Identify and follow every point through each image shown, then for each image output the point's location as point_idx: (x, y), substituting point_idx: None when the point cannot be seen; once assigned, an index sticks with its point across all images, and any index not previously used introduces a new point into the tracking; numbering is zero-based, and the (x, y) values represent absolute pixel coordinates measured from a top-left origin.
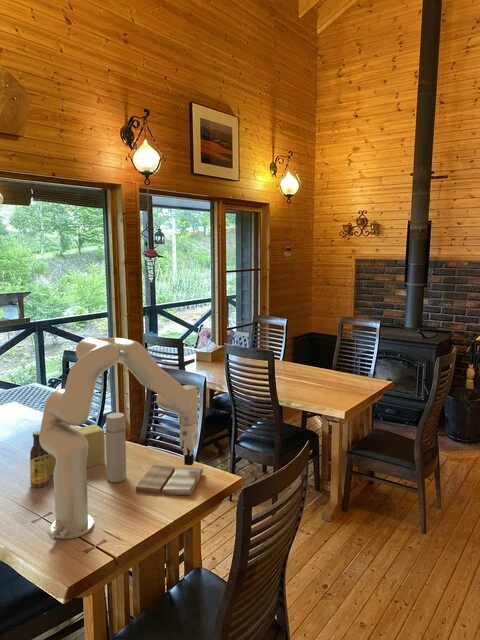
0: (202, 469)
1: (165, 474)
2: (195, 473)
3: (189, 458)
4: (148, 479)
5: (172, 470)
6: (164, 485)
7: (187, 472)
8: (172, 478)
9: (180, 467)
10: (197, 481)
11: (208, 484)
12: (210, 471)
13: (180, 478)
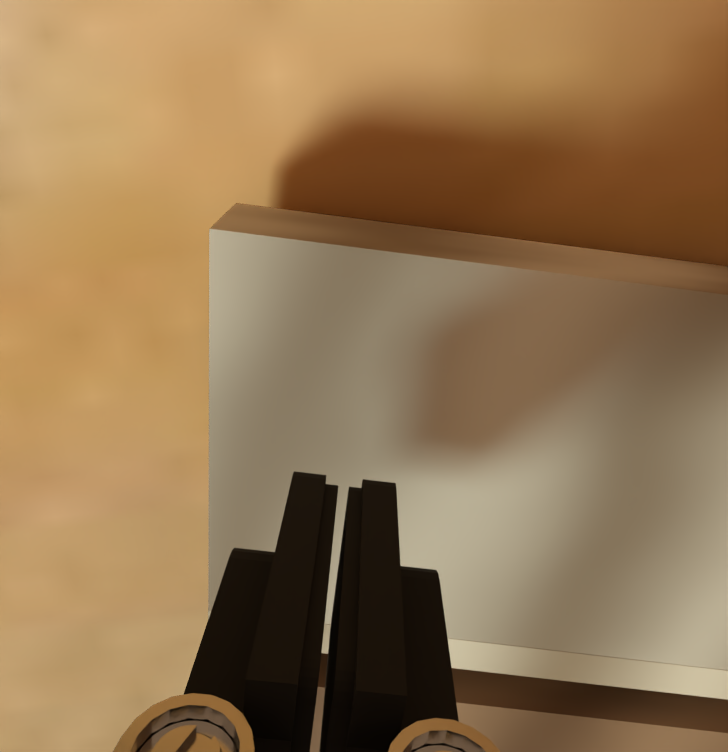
0: (238, 218)
1: None
2: (521, 342)
3: (452, 690)
4: None
5: None
6: None
7: (441, 487)
8: (617, 658)
9: None
10: (653, 259)
11: (673, 26)
12: (106, 52)
13: (659, 562)
